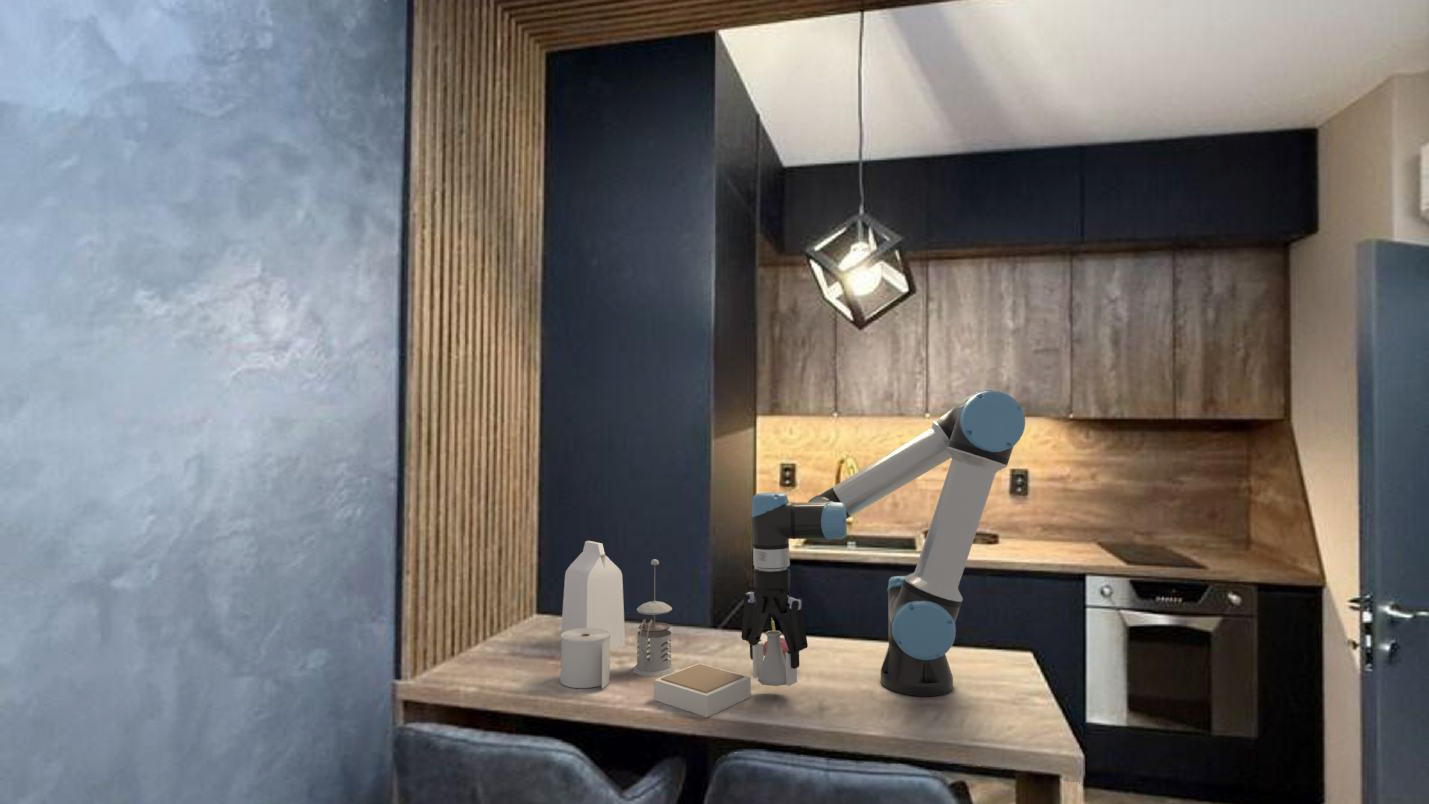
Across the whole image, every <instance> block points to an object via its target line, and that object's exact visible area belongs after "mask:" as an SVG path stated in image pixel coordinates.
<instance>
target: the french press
mask: <svg viewBox="0 0 1429 804" xmlns="http://www.w3.org/2000/svg"><path fill="white" fill-rule="evenodd" d="M659 564H660V562H659V560H658V559H656V558H654V559H651V561H650V565H652V566H654V572H653V573H654V577H653V578H654V579H653V580H654V581H653V582H654V583H653V585H654V587H653V588H654V589H653V591H654V592H653V593H654V594H653V595H654V597H653V600H652V601H648V602H645V603H642V604H641V605H639V606H638V607H637V608H636V612H637V613H638V614H641V615H646V616H647V615H648V616H653V619H650V621H647V620H646V618H644V619H643V620H642V622H641V624H640V625H638V629H639V631H637V633H636V634H637V637H636V638H637V642H636V644H637V646H636V650H637V652H636V656H637V657H636V664H635V666H633V668H632V671H634V672H633V673H634V674H636V673H637V675H639V676H643V677H663V676H666V675H669V674H671V673H674V672H675V671H676V667H675V666H674V665H673V664H672V660H671V659H672V643H671V642H672V631H671V630H669V629H670V627H671V626H670V624H668V623H665V622H656V616H657V615H663V614H668V613H670V612H671V611H672V610H673V607H672V606H671V605H669V604H667V603H665V602H664V601H657V600H656V566H659ZM646 621H647V622H646ZM668 641H669V642H668ZM668 647H669V648H668ZM674 670H675V671H674Z"/></svg>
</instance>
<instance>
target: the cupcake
mask: <svg viewBox="0 0 1429 804" xmlns="http://www.w3.org/2000/svg"><path fill="white" fill-rule="evenodd" d="M770 618H771V621H770V623H771V629H772V630H771V631H773V630H774V631H776V626H775V625H776V624H775V621H774V619H773V618H772V617H770ZM780 644H781V649H782V652H783V655H784V658H785V661H786V653H785V652H787V651H789V649H788V646H787V644H786V641H785V638H784V637H780ZM766 649H767V640H765V641H764V643H763V657H765V654H766Z"/></svg>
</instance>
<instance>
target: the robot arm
mask: <svg viewBox="0 0 1429 804" xmlns="http://www.w3.org/2000/svg"><path fill="white" fill-rule="evenodd" d="M1025 428H1026V417H1025V413H1024V410H1023V408H1022V406H1021V405H1020V404H1019V402H1018V401H1017V400H1016V399H1015V398H1014V397H1013V396H1011V395H1009V394H1007V393H1005V392H1002V391H999V390H993V389H985V390H980V391H977V392H975V393H973V394H971V395H968V396H966V397H964V398H963V399H961V400H960V401H959V402H958V403H957V404H956V405H955V406H953V408H951V409H949V411H947V412H946V413H945V414H943V415H942V416H940V417H939V418H937V419H935V420H933V422H932V425H931V427H930V428H929V429H927V430H925V432H923V433H921V434H920V435H918V436H916V437H914V438H912V439H911V440H909V441H907V442H906V443H904V444H903V445H901V446H899V447H897V448H895V449H894V450H893V451H891V452H889V453H887V454H885V455H884V456H882V457H880V458H879V459H877V460H876V461H873V462H872V463H871V464H868V465H867V466H865V467H863V468H862V469H861V470H859V471H857V472H856V473H854V474H852V475H851V476H849V477H847V478H845V479H844V480H842V481H841V482H838V483H837V484H835V485H834V486H832V487H831V488H829V489H828V490H825V491H824V492H822V493H820V494H819V495H818V494H817V495H815V496H813V497H812V498H811V499H809V500H808V502H807V501H806V502H791V501H789V499H788V498H789V497H788V495H787V494H786V493H785V492H775V491H774V492H772V491H771V492H770V491H769V492H760V493H756V494H755V495H753V497H752V501H751V503H752V504H751V528H752V529H751V531H752V532H751V533H752V552H753V553H752V555H753V556H752V559H753V560H752V561H753V564H752V565H753V567H754V569H753V586H754V588H755V589H754V591H749V592H746V593H744V594H743V595H742V599H743V615H742V625H741V626H742V627H741V639H742V641H746V642H748V645H749V657H750V660H752V674H753V675H752V677H753V678H755V679H758V677H759V674H760V671H761V668H762V664H763V661H764V655H763V644H764V643H763V642H761V641H762V639H761V637H762V634H763V632H764V627H765V624H766V622H767V618H768V616H769V614H771V615H774V617H775V618H776V620H777V621H778V623H779V626H780V629H781V631H782V632H781V633H782V634H783V638H785V641H786V644H787V646H788V649H789V651H787V652H785V653H786V686H789V687H791V686H792V685H794V684H796V683H798V668H799V667H800V652H801V651H803V650H805V649H808V646H809V645H808V639H807V633H806V625H805V619H804V612H803V609H804V600H803V598H795V597H793V596H792V595H791V593H790V588H791V587H790V586H791V570H790V569H789V568H788V567H790V565H791V562H790V561H791V559H790V542H789V541H790V540H828V541H832V540H842V539H845V538H846V537H847V534H848V532H847V531H848V529H847V527H848V525H847V523H848V522H847V519H849V518H851V516H852V517H853V516H854V515H855V514H857V513H859V512H861V511H862V510H864V509H865V508H867V507H870V506H871V505H873V504H875V503H877V502H878V501H879V500H881V499H883V498H885V497H887V496H888V495H890V494H891V493H893V492H895V491H896V490H899V489H900V488H902V487H904V486H906V485H907V484H909V483H911V482H912V481H914V480H915V479H918V478H919V477H921V476H922V475H924V474H926V473H928V472H929V471H931V470H933V469H935V468H936V467H939V466H940V465H942V464H943V463H945V462H947V461H948V460H950V459H951V460H950V464H949V467H948V471H947V472H946V476H945V479H944V483H943V484H942V488H941V491H940V493H939V497H938V500H937V503H936V506H935V510H934V512H933V514H932V517H931V521H930V524H929V528H928V530H927V533H926V534H927V535H926V537H925V539H924V543H923V546H922V548H921V552H920V555H919V558H918V561H917V563H916V564H917V565H916V567H915V570H914V572H912V573H910V574H907V575H897V576H896V575H894V576H891V577H890V578H889V580H888V585H887V586H888V587H887V594H888V596H887V597H888V598H887V601H888V604H887V605H888V608H887V609H888V611H887V612H888V646H887V649H886V653H885V657H884V660H883V661H882V665H881V669H880V684H881V685H882V686H884V687H885V688H886V689H888V690H891V691H893V692H895V693H899V694H904V695H908V696H916V697H918V696H919V697H936V696H942V695H947V694H949V693H951V692H952V691H953V689H954V676H953V674H952V670H951V667H950V664H949V661H948V658H947V656H946V654H947V653H948V652H949V651H950V649H951V648H952V647H953V644H954V642H955V638H956V634H957V633H956V632H957V629H956V621H957V618H958V615H959V612H960V609H961V606H962V602H963V596H962V595H961V592H960V590H959V585H960V581H961V580H962V577H963V573H964V570H965V567H966V565H967V563H968V562H967V561H968V557H969V556H970V552H971V548H972V546H973V543H974V541H975V537H976V534H977V530H978V528H979V525H980V521H981V519H982V516H983V513H984V510H985V507H986V504H987V501H988V499H989V496H990V495H989V494H990V492H991V489H992V486H993V483H994V479H995V476H996V474H997V473H998V472H1000V471H1002V470H1003V469H1005V468H1007V467H1008V464H1009V462H1010V458H1011V455H1012V452H1013V450H1014V447H1015V445H1017V444H1018V443H1019V441H1020V440H1021V438H1022V436H1023V434H1024V432H1025ZM756 604H758V605H757V608H756ZM788 606H789V607H788ZM789 609H790V610H789ZM755 615H756V616H755ZM790 616H791V617H790Z"/></svg>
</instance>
